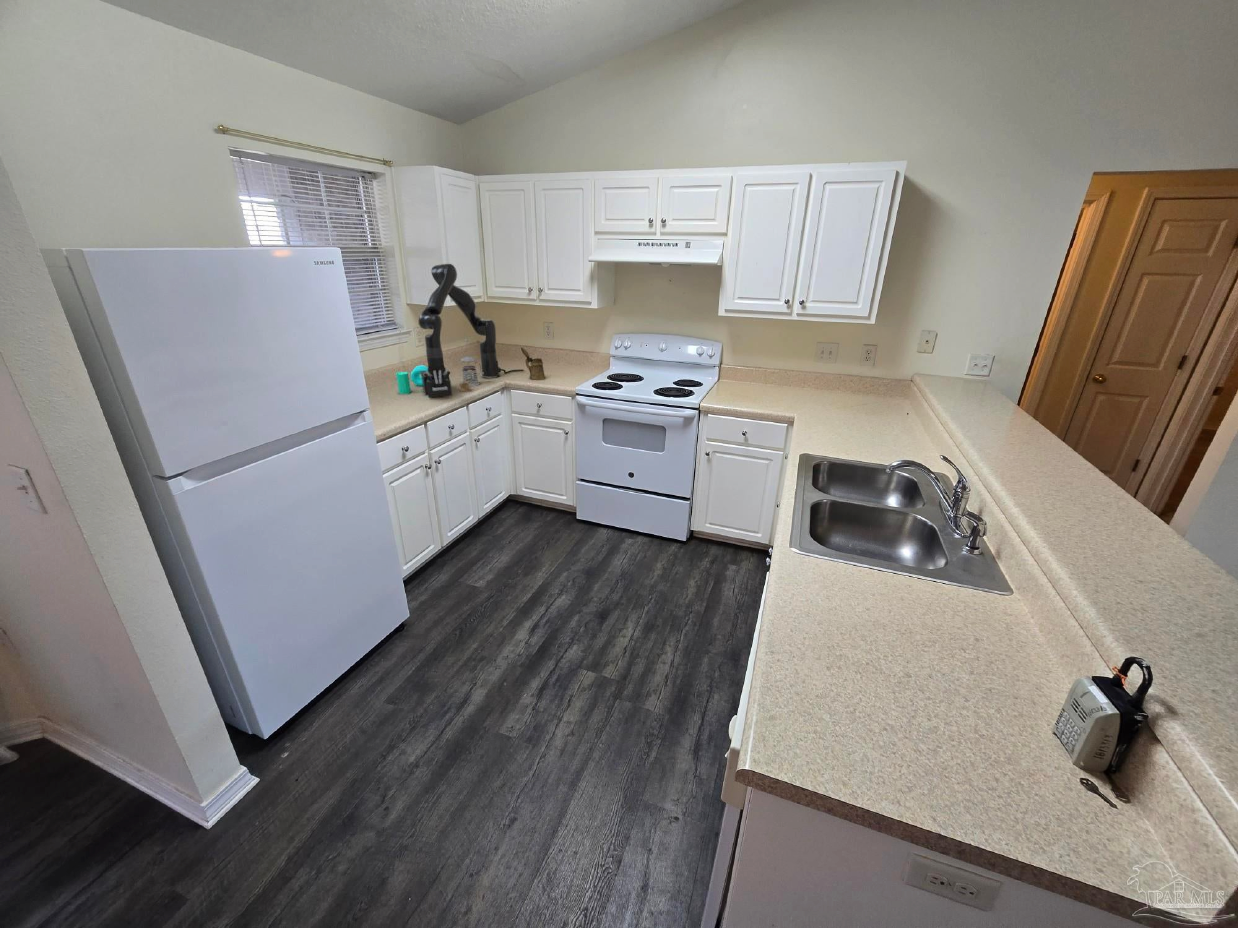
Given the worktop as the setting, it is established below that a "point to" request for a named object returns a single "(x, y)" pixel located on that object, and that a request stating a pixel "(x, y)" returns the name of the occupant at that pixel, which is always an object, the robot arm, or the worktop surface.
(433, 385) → the drawer
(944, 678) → the worktop surface
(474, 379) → the french press
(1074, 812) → the worktop surface
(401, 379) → the candle
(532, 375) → the wooden mug
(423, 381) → the box
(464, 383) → the block
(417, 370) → the donuts
